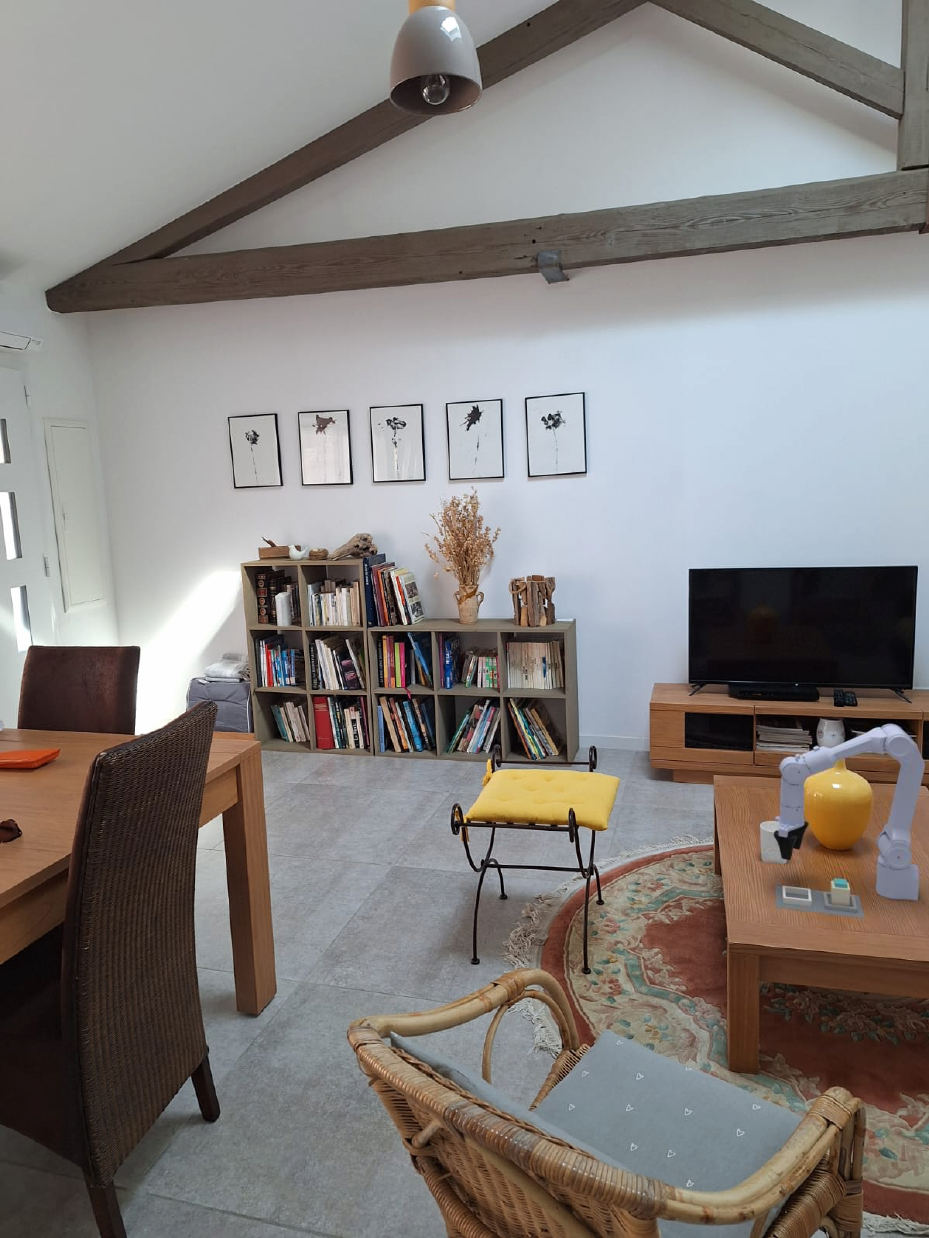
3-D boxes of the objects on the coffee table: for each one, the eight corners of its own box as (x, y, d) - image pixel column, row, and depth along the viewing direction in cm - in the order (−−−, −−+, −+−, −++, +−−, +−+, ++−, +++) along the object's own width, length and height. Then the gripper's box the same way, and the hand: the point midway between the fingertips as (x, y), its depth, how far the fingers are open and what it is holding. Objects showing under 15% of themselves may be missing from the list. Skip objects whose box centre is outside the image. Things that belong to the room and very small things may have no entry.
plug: (847, 901, 211) (848, 878, 210) (849, 908, 208) (850, 885, 207) (830, 899, 213) (831, 876, 212) (831, 906, 209) (832, 883, 208)
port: (810, 894, 215) (810, 888, 215) (811, 906, 209) (811, 900, 209) (782, 891, 217) (782, 885, 217) (783, 903, 211) (783, 897, 211)
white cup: (787, 855, 240) (788, 822, 239) (790, 867, 233) (791, 833, 231) (758, 853, 242) (759, 820, 241) (760, 864, 235) (761, 830, 233)
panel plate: (858, 899, 214) (859, 895, 214) (864, 922, 203) (864, 918, 203) (775, 889, 221) (775, 885, 221) (775, 911, 210) (776, 907, 209)
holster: (854, 899, 212) (854, 895, 212) (857, 912, 206) (857, 908, 205) (823, 895, 215) (823, 891, 214) (825, 908, 208) (825, 905, 208)
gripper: (785, 792, 226) (784, 840, 228) (766, 809, 214) (766, 859, 216) (812, 797, 221) (811, 846, 223) (795, 815, 210) (794, 866, 212)
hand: (790, 853), depth 220 cm, fingers open, 7 cm apart
